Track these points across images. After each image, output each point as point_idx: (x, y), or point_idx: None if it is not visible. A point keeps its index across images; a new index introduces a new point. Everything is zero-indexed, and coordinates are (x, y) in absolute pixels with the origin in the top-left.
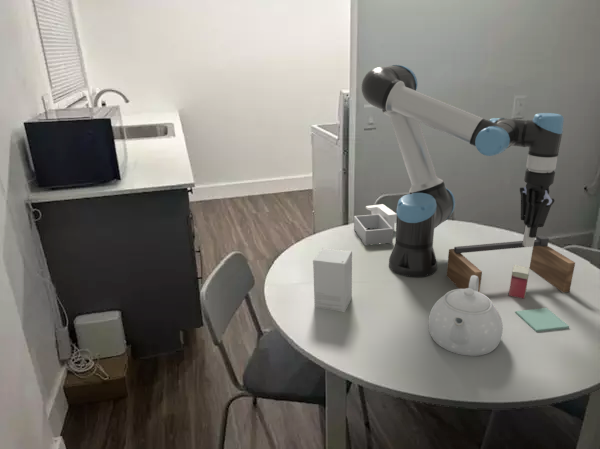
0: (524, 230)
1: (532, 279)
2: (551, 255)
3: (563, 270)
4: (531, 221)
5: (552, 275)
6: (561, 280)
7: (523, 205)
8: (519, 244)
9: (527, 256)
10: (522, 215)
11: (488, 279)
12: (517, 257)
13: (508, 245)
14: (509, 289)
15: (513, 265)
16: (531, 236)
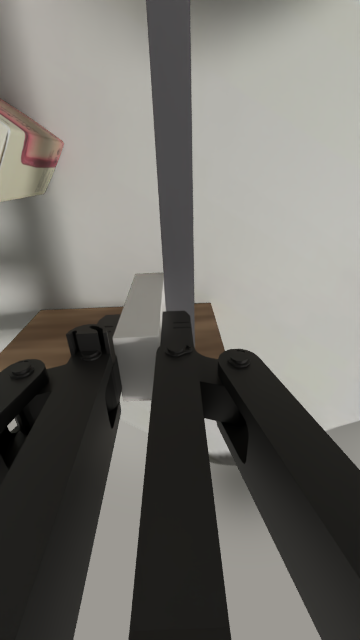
0: (186, 321)
1: (132, 269)
2: None
3: (25, 345)
4: (71, 382)
5: (90, 321)
6: (43, 325)
7: (310, 506)
8: (163, 256)
9: (291, 341)
10: (245, 382)
11: (150, 85)
12: (296, 309)
13: (157, 176)
14: (12, 108)
15: (4, 123)
16: (100, 320)
